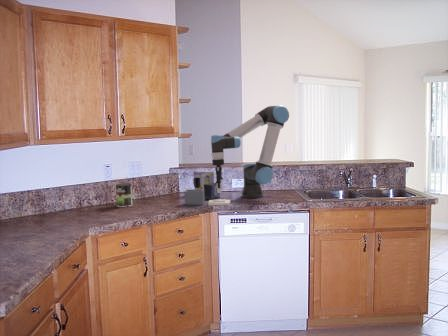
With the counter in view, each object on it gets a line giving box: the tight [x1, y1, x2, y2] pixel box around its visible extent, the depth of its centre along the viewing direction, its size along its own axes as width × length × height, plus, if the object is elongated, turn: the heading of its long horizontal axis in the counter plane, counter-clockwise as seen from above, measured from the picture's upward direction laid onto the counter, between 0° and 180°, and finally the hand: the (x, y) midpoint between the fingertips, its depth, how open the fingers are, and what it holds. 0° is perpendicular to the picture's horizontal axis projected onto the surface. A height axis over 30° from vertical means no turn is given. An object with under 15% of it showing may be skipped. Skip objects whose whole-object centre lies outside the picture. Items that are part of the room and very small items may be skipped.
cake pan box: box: [192, 169, 215, 189], centre depth 352 cm, size 19×5×18 cm, turn 43°
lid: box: [207, 198, 231, 206], centre depth 314 cm, size 14×12×3 cm
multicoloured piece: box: [115, 183, 133, 208], centre depth 315 cm, size 10×10×14 cm
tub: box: [184, 188, 206, 206], centre depth 314 cm, size 12×8×9 cm, turn 88°
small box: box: [204, 182, 221, 201], centre depth 334 cm, size 11×6×10 cm, turn 143°
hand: (219, 191), depth 314 cm, fingers open, 13 cm apart
